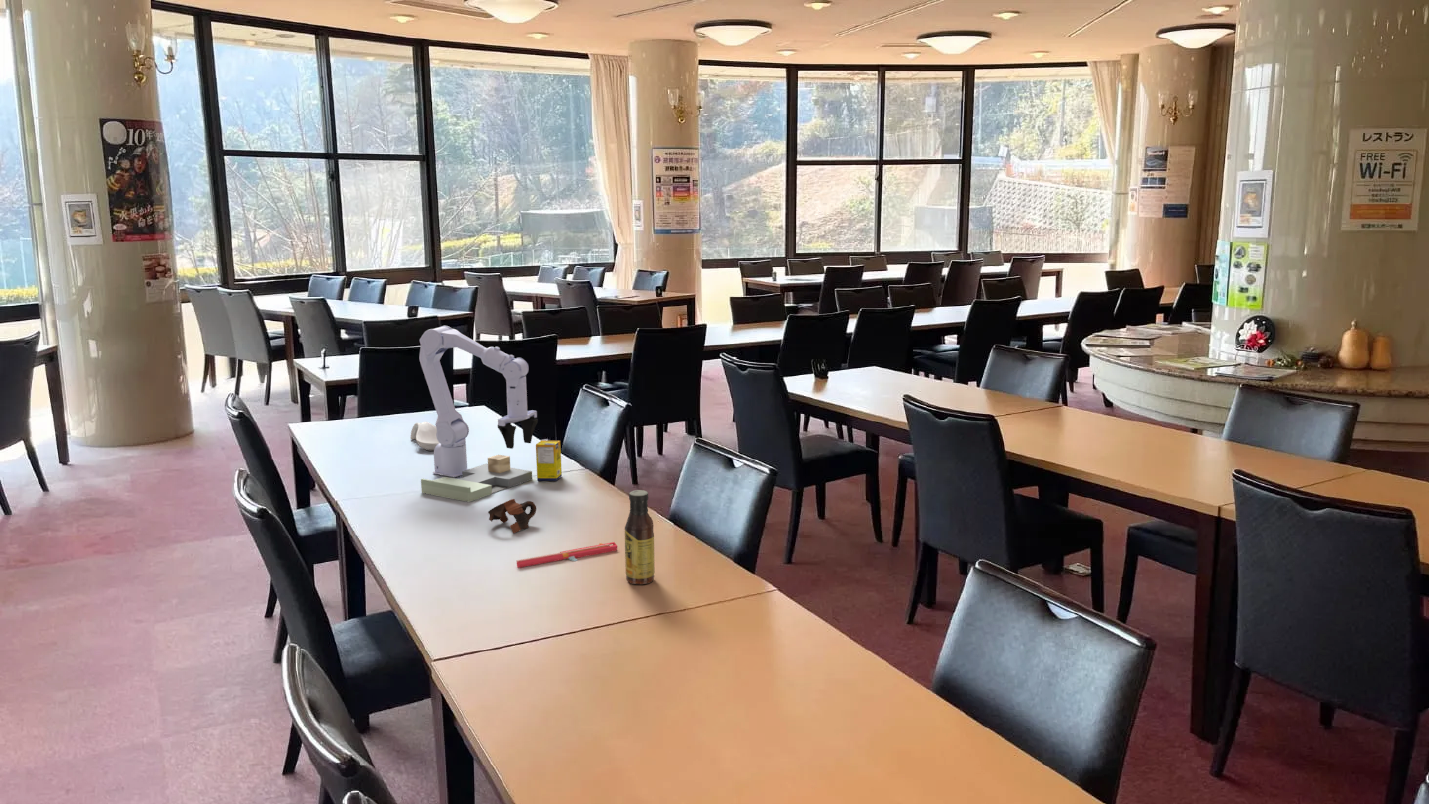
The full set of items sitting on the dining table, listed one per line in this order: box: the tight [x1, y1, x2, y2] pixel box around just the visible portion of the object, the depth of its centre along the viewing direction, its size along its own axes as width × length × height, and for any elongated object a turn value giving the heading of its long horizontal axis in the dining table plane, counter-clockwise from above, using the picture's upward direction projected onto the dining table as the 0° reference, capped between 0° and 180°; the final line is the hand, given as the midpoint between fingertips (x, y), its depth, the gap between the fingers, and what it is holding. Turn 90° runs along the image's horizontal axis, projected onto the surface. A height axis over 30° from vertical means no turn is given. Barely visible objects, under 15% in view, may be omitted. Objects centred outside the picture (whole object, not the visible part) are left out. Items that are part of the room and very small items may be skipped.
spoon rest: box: [410, 421, 439, 452], centre depth 340 cm, size 24×12×7 cm, turn 36°
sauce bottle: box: [624, 489, 656, 585], centre depth 215 cm, size 6×6×20 cm
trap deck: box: [420, 463, 533, 503], centre depth 291 cm, size 18×26×4 cm
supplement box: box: [535, 440, 563, 482], centre depth 297 cm, size 6×6×11 cm
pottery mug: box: [488, 498, 537, 534], centre depth 254 cm, size 12×10×8 cm
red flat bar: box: [516, 541, 618, 569], centre depth 231 cm, size 24×2×5 cm
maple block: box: [487, 454, 511, 473], centre depth 298 cm, size 4×4×4 cm
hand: (518, 445), depth 299 cm, fingers open, 7 cm apart
